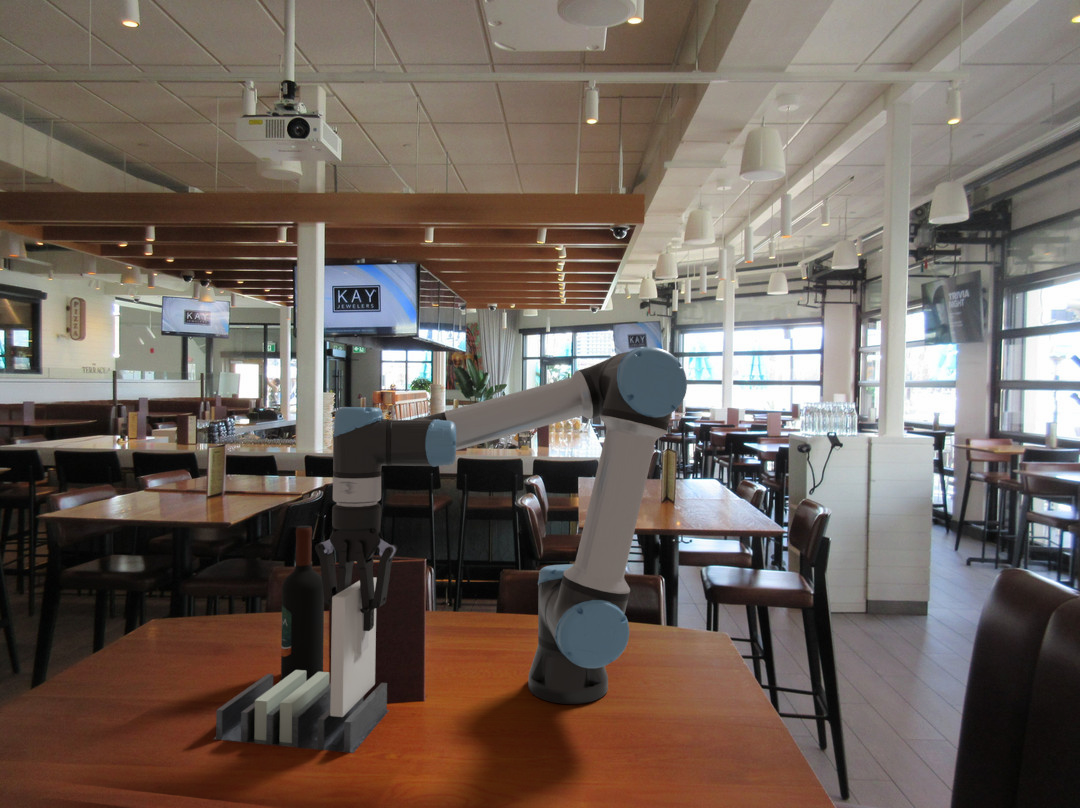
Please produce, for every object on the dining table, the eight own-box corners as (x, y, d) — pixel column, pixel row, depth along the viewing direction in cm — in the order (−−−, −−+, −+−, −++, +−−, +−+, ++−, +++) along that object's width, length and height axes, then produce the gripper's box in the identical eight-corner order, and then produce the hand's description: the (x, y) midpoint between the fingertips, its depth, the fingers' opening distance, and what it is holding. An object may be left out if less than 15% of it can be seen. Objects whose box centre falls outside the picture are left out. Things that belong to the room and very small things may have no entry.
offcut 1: (306, 705, 113) (306, 670, 113) (266, 740, 101) (266, 701, 101) (295, 704, 113) (295, 669, 113) (254, 739, 101) (254, 700, 101)
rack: (389, 718, 111) (389, 683, 111) (353, 762, 97) (353, 722, 97) (264, 707, 115) (265, 673, 115) (213, 748, 101) (213, 709, 101)
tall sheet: (375, 684, 111) (376, 577, 111) (342, 717, 99) (344, 597, 99) (363, 683, 111) (365, 576, 111) (330, 715, 99) (332, 596, 99)
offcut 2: (328, 707, 112) (329, 672, 112) (291, 742, 100) (292, 703, 100) (318, 706, 112) (318, 671, 112) (279, 741, 100) (279, 702, 100)
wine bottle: (309, 695, 120) (311, 531, 120) (272, 691, 122) (274, 529, 122) (330, 678, 127) (332, 524, 128) (295, 674, 129) (297, 522, 129)
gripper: (301, 504, 102) (298, 654, 102) (392, 508, 100) (390, 662, 100) (324, 498, 110) (322, 638, 110) (410, 501, 108) (407, 644, 107)
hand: (354, 649), depth 105 cm, fingers closed on tall sheet, 2 cm apart
